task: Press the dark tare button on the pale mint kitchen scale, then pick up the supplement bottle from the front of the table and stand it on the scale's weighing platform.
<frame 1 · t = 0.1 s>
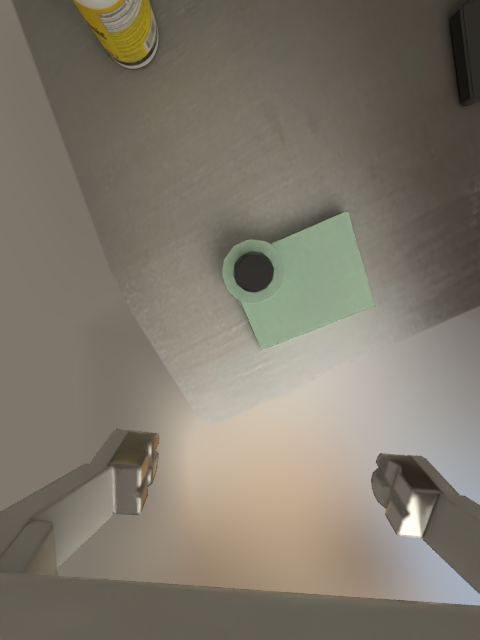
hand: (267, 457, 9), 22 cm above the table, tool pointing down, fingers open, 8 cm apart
tare button: (253, 272, 26), point 3 cm above the table, slide at 0.1 cm
phone: (458, 60, 24), point 1 cm above the table
scale: (298, 283, 30), on the table
supplement bottle: (132, 39, 24), on the table
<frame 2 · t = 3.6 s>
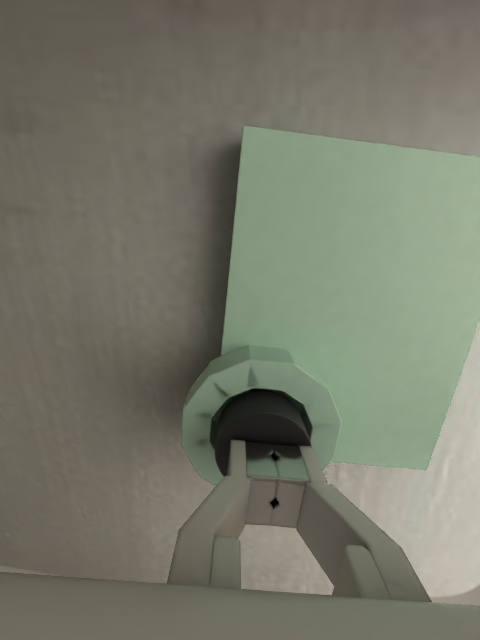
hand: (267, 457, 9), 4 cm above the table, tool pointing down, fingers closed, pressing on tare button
tare button: (261, 440, 10), point 3 cm above the table, slide at 0.0 cm, touching gripper
scale: (338, 319, 12), on the table
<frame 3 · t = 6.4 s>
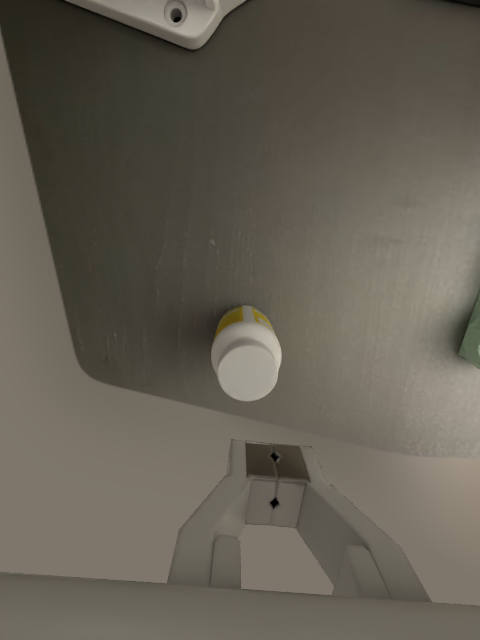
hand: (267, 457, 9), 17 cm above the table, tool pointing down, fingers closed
supplement bottle: (244, 330, 26), on the table
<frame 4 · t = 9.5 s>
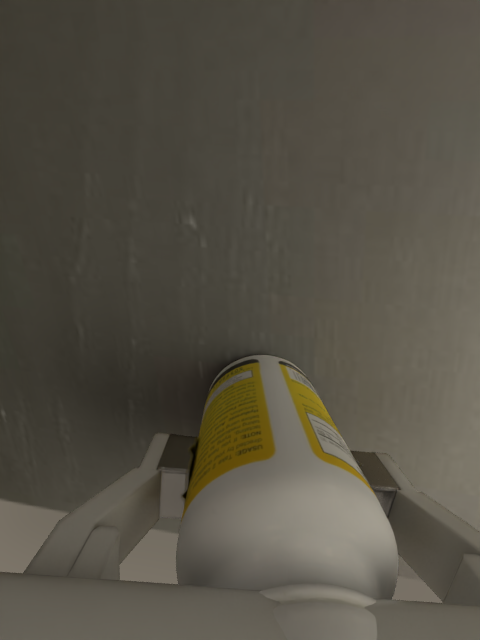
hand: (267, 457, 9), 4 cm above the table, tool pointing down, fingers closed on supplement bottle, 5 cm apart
supplement bottle: (260, 399, 13), on the table, touching gripper
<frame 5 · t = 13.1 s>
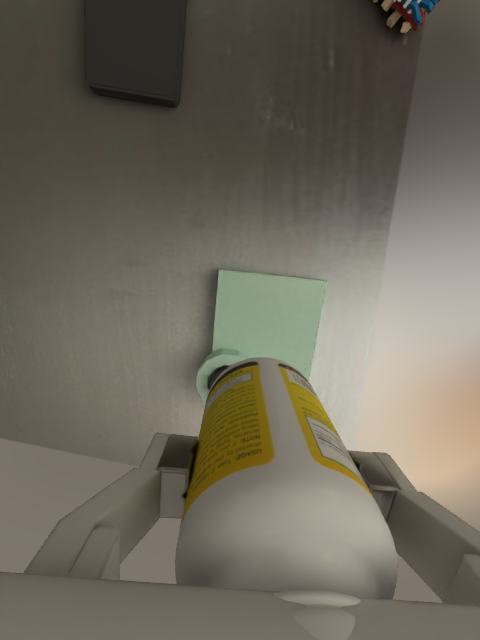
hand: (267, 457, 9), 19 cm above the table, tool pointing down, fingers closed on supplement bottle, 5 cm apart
tare button: (227, 385, 26), point 3 cm above the table, slide at 0.1 cm
phone: (133, 99, 22), point 1 cm above the table
scale: (263, 337, 28), on the table
supplement bottle: (260, 401, 13), point 15 cm above the table, touching gripper
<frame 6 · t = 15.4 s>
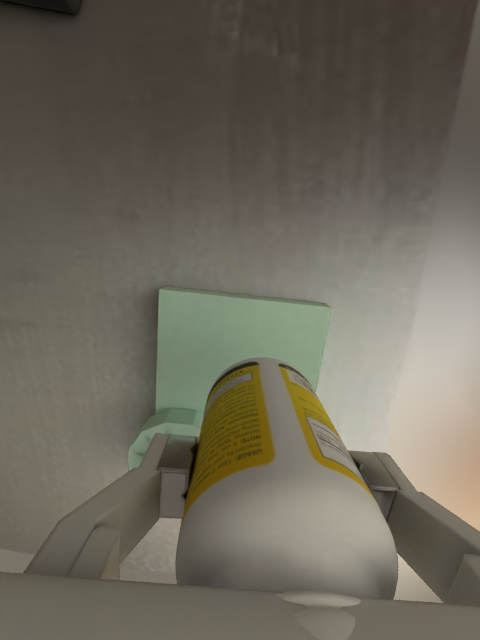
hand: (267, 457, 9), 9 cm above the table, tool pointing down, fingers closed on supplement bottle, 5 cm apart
scale: (235, 387, 19), on the table
supplement bottle: (260, 401, 13), point 5 cm above the table, touching gripper
when the fingers open (5 cm above the table, at t = 17.2 s): supplement bottle stays where it is, resting on scale.
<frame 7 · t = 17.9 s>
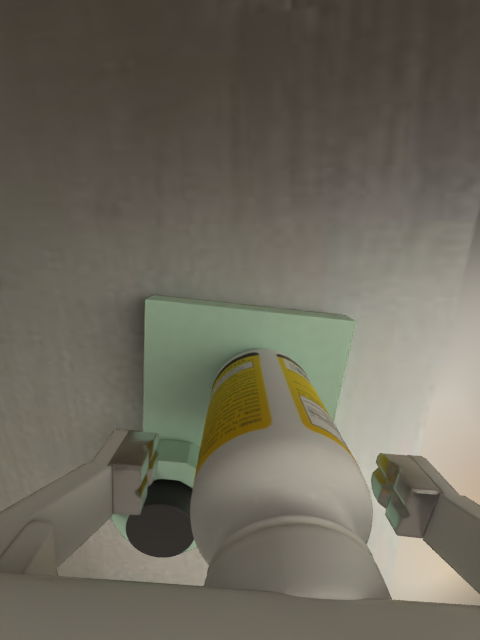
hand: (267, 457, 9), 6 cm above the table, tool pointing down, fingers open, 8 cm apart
tare button: (164, 517, 14), point 3 cm above the table, slide at 0.1 cm
scale: (237, 413, 16), on the table
supplement bottle: (260, 390, 14), point 1 cm above the table, touching scale
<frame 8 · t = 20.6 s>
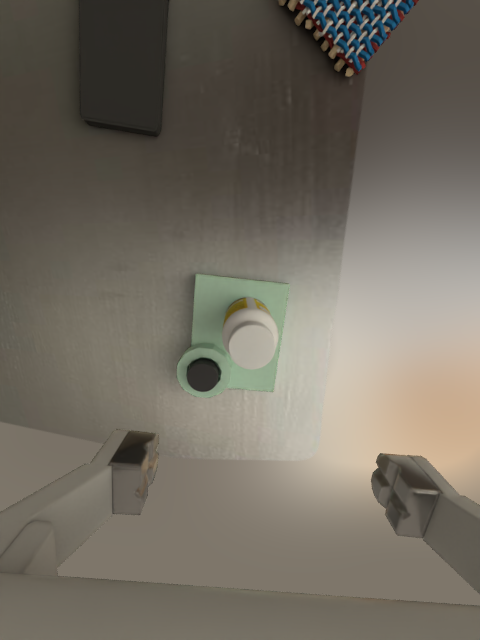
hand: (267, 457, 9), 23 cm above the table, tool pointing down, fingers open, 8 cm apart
tare button: (203, 375, 30), point 3 cm above the table, slide at 0.1 cm
phone: (121, 130, 26), point 1 cm above the table
scale: (236, 333, 32), on the table
supplement bottle: (247, 318, 31), point 1 cm above the table, touching scale
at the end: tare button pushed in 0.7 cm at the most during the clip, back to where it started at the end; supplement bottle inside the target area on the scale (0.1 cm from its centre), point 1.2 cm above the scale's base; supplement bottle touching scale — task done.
